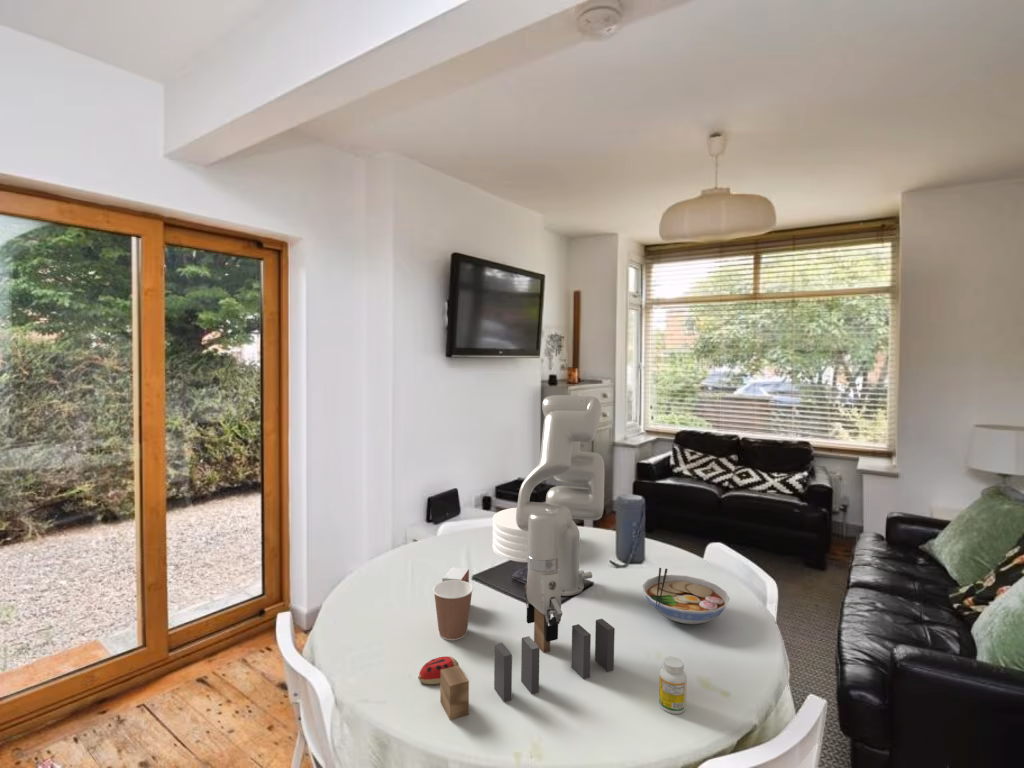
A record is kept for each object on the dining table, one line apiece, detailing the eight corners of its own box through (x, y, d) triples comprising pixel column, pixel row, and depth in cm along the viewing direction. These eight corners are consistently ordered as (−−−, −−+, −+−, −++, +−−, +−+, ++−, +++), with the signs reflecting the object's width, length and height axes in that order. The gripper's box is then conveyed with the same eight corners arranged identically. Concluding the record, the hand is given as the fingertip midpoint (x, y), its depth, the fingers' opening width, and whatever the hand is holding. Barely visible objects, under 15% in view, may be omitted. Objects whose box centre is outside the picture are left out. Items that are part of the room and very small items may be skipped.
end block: (458, 697, 116) (458, 665, 115) (468, 714, 110) (468, 681, 110) (440, 702, 114) (440, 669, 114) (449, 719, 109) (449, 686, 108)
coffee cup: (479, 627, 145) (479, 583, 144) (463, 647, 135) (463, 600, 134) (443, 620, 148) (444, 577, 147) (425, 639, 138) (425, 593, 137)
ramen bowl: (729, 649, 135) (731, 617, 135) (636, 631, 143) (636, 601, 143) (727, 605, 159) (728, 577, 158) (646, 592, 167) (647, 565, 166)
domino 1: (501, 686, 119) (502, 642, 119) (511, 700, 115) (512, 654, 114) (494, 688, 119) (494, 644, 118) (503, 702, 114) (504, 656, 113)
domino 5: (601, 659, 130) (602, 618, 130) (613, 670, 126) (614, 628, 125) (594, 660, 130) (595, 620, 129) (607, 672, 125) (608, 629, 125)
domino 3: (540, 641, 138) (540, 602, 137) (549, 651, 134) (550, 611, 133) (534, 642, 137) (534, 604, 137) (543, 652, 133) (544, 612, 132)
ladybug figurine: (465, 676, 123) (465, 661, 123) (425, 692, 118) (425, 676, 117) (451, 662, 129) (451, 648, 128) (412, 676, 123) (412, 661, 123)
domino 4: (577, 665, 128) (578, 624, 127) (589, 677, 123) (590, 634, 123) (571, 667, 127) (572, 625, 126) (583, 679, 122) (583, 636, 122)
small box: (461, 617, 150) (461, 579, 149) (441, 615, 151) (441, 578, 150) (469, 604, 158) (469, 568, 157) (450, 602, 159) (450, 566, 158)
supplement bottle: (679, 718, 110) (680, 672, 109) (654, 707, 113) (655, 662, 113) (689, 705, 114) (691, 661, 113) (665, 694, 117) (666, 651, 117)
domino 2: (528, 679, 122) (528, 636, 121) (538, 692, 118) (539, 647, 117) (521, 681, 121) (521, 637, 121) (531, 694, 117) (532, 649, 116)
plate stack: (490, 536, 215) (490, 507, 214) (560, 534, 218) (560, 506, 217) (495, 564, 187) (495, 531, 186) (575, 561, 190) (576, 529, 189)
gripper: (574, 572, 128) (573, 644, 128) (539, 549, 143) (538, 613, 144) (546, 577, 124) (545, 651, 125) (514, 553, 140) (512, 618, 141)
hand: (541, 630), depth 135 cm, fingers open, 9 cm apart
